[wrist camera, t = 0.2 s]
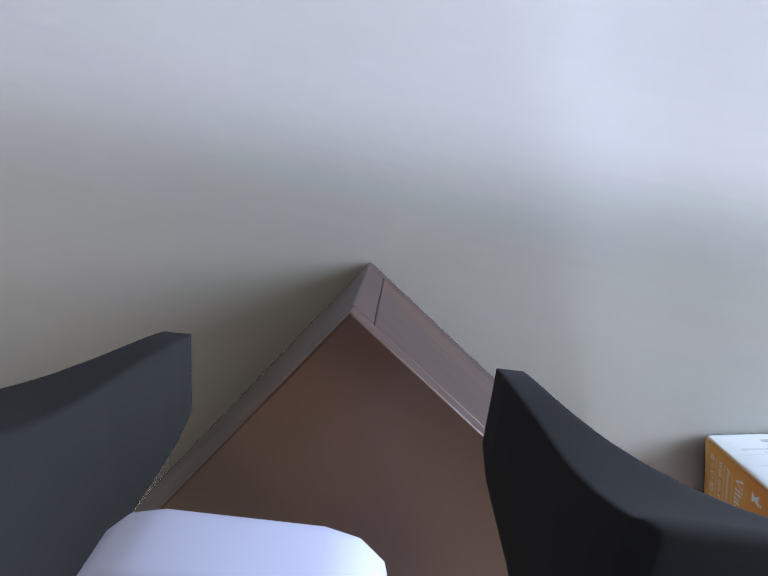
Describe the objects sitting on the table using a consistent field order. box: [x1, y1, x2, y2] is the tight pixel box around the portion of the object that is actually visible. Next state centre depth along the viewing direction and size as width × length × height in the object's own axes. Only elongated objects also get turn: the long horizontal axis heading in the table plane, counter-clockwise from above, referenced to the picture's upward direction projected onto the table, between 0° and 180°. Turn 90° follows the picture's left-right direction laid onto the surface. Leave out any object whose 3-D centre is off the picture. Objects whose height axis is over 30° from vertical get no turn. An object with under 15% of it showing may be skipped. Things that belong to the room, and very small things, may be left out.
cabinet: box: [135, 263, 508, 576], centre depth 21 cm, size 14×14×9 cm
